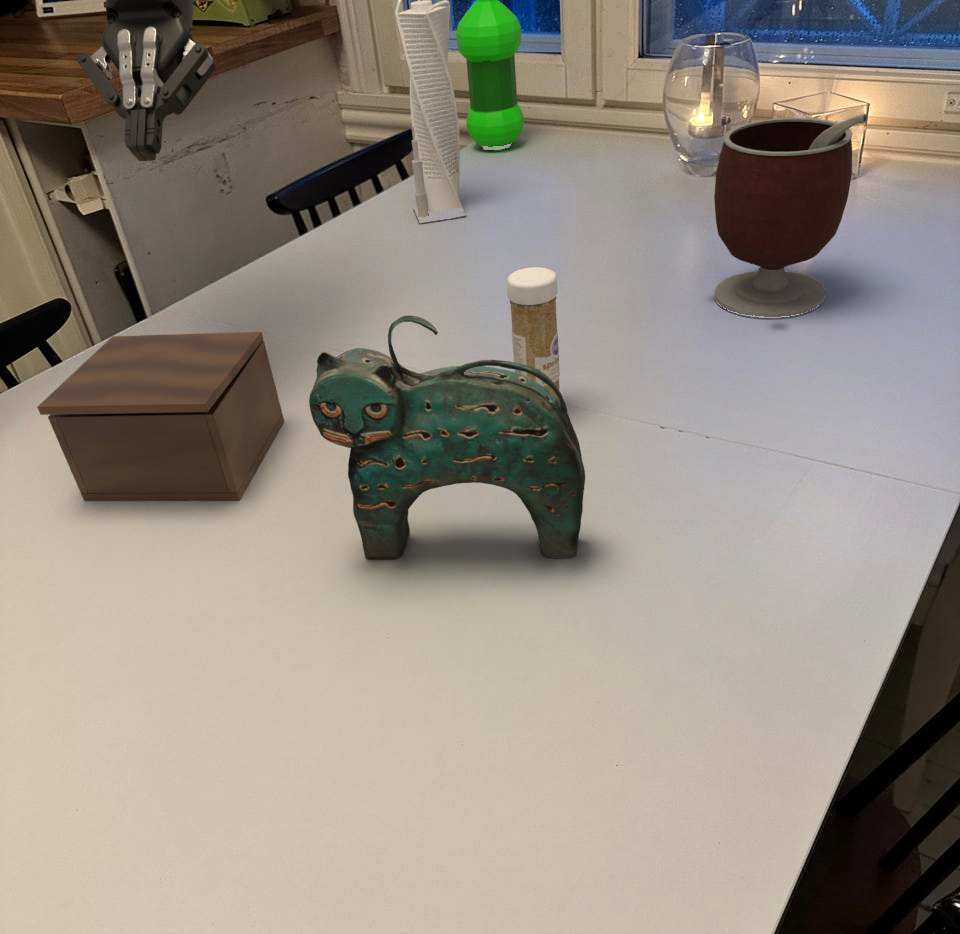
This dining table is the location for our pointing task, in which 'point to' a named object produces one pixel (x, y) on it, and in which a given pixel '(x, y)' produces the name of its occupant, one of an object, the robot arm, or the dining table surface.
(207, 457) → the chest
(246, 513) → the dining table surface
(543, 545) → the ceramic cat
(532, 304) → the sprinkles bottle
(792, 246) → the mate gourd
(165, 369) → the lid
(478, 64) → the plastic bottle
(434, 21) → the skyscraper
